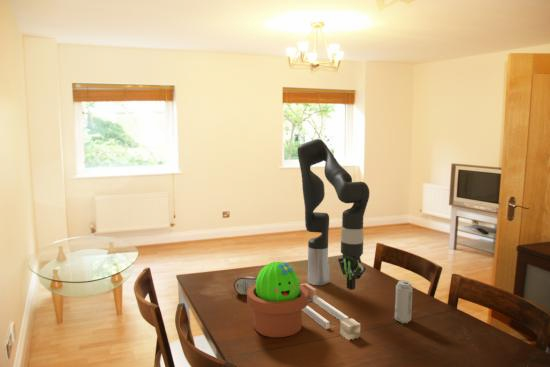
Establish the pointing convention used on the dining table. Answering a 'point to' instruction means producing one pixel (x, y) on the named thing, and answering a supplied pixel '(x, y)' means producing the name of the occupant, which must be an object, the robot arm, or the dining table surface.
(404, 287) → the energy drink can
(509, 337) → the dining table surface
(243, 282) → the tin
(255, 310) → the potted cactus
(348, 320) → the block
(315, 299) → the rail channel
